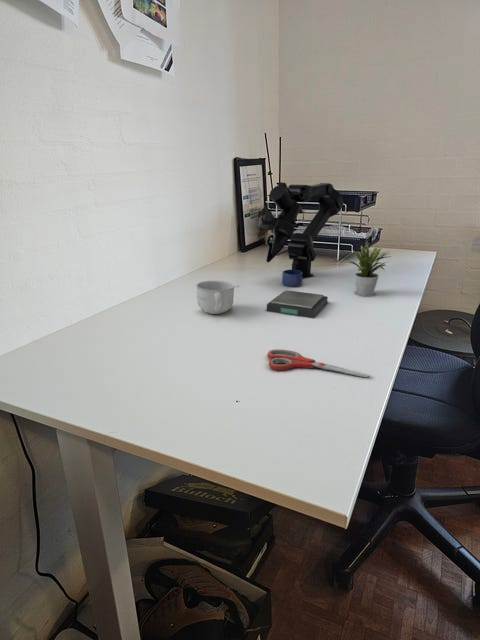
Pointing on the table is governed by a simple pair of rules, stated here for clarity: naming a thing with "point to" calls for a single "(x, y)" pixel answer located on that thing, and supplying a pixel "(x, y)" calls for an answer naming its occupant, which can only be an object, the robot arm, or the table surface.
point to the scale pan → (298, 299)
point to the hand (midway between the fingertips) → (269, 258)
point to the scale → (297, 308)
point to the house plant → (367, 270)
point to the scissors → (302, 362)
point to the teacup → (215, 296)
